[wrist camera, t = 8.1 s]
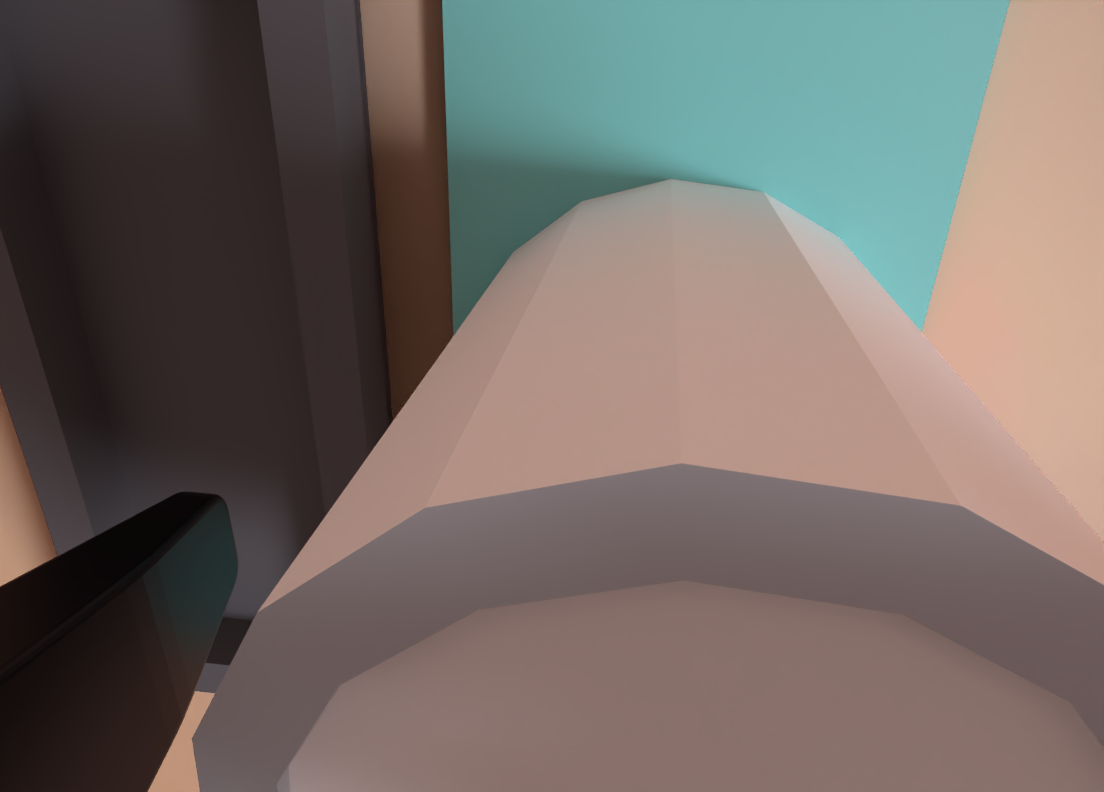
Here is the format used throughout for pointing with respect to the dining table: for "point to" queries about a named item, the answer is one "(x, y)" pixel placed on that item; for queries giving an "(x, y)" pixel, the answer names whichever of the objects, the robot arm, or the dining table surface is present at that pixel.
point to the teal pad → (715, 117)
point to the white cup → (680, 546)
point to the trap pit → (190, 268)
